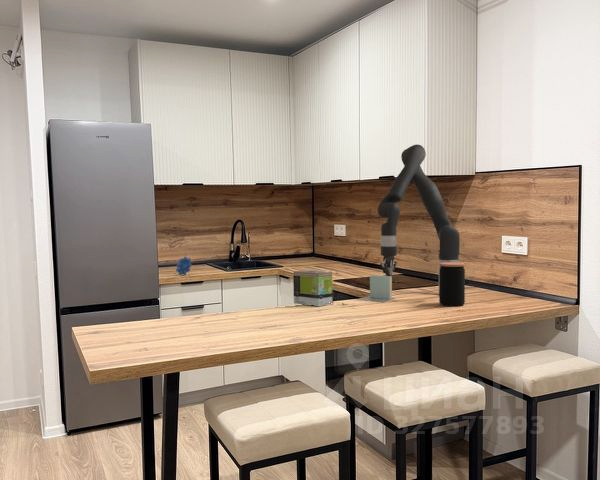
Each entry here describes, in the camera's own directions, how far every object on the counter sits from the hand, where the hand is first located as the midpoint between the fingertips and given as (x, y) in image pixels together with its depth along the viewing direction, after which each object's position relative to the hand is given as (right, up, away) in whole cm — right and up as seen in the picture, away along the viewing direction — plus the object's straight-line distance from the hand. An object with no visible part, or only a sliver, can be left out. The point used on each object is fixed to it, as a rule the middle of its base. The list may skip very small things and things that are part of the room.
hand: (388, 282), depth 264 cm
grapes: (-119, -4, +110) cm, 162 cm away
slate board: (-8, -8, -11) cm, 16 cm away
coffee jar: (+24, -9, -19) cm, 32 cm away
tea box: (-36, -9, -14) cm, 39 cm away
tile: (-5, -7, -7) cm, 11 cm away
